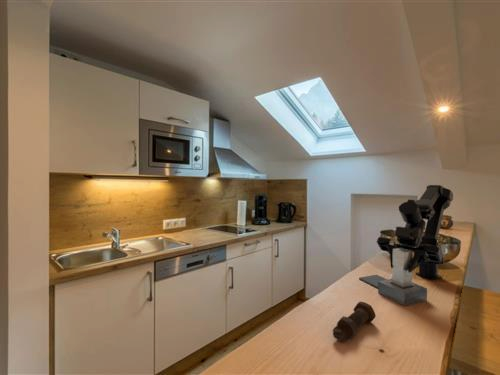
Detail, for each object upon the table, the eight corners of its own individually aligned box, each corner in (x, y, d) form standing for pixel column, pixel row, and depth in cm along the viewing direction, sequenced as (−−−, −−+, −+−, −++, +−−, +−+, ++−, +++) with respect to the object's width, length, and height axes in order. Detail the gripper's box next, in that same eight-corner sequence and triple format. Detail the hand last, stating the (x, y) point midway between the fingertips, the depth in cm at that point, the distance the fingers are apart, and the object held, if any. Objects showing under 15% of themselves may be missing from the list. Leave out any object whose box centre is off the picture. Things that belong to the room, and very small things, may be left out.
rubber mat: (376, 276, 102) (376, 274, 102) (396, 284, 94) (396, 283, 94) (358, 279, 99) (358, 277, 99) (377, 288, 91) (377, 286, 91)
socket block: (399, 288, 91) (399, 277, 91) (426, 300, 81) (427, 288, 81) (377, 292, 87) (378, 281, 87) (404, 306, 78) (404, 293, 78)
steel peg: (400, 287, 87) (401, 247, 86) (411, 292, 83) (412, 250, 83) (392, 289, 86) (392, 248, 85) (402, 294, 82) (403, 252, 81)
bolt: (334, 348, 62) (363, 323, 71) (351, 347, 58) (379, 321, 68) (324, 323, 64) (353, 302, 73) (340, 321, 60) (368, 299, 70)
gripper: (379, 214, 93) (364, 249, 87) (440, 221, 79) (427, 263, 72) (388, 232, 98) (374, 267, 92) (447, 241, 84) (436, 283, 77)
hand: (400, 269), depth 83 cm, fingers closed on steel peg, 5 cm apart
